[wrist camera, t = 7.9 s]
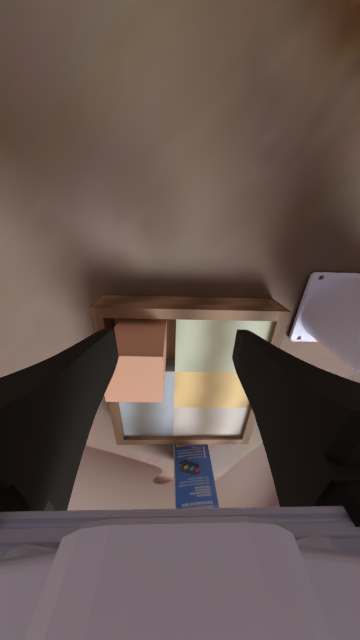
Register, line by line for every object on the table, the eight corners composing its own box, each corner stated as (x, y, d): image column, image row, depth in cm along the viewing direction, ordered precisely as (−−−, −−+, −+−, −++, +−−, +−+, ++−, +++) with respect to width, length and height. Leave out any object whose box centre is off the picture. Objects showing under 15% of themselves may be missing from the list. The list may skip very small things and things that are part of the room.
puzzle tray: (272, 298, 20) (291, 311, 17) (240, 420, 29) (247, 443, 25) (103, 294, 19) (89, 307, 16) (123, 420, 28) (116, 444, 25)
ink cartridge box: (209, 461, 34) (231, 607, 21) (179, 463, 34) (182, 611, 21) (207, 427, 29) (232, 585, 16) (172, 430, 29) (170, 589, 16)
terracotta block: (166, 315, 19) (163, 356, 13) (166, 351, 21) (162, 402, 15) (122, 314, 19) (96, 355, 13) (126, 350, 21) (105, 401, 15)
